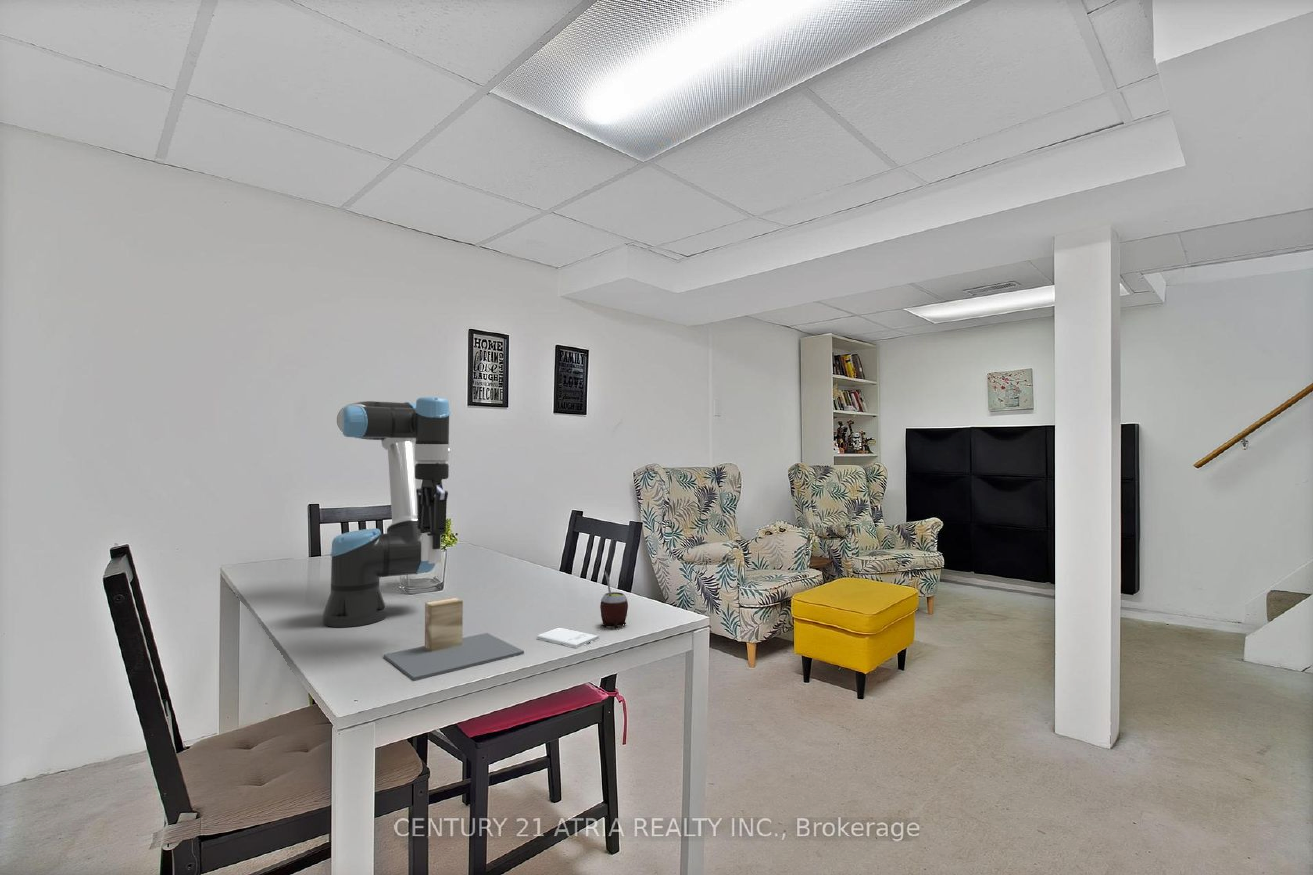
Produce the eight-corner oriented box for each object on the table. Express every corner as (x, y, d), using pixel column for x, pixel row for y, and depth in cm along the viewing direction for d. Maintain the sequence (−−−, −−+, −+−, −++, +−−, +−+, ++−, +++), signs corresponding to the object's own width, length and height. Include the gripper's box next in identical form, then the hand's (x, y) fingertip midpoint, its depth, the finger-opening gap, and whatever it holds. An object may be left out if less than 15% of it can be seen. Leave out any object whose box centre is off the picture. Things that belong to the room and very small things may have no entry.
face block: (424, 647, 136) (425, 602, 137) (454, 640, 141) (455, 597, 141) (431, 651, 133) (432, 605, 134) (462, 644, 138) (462, 600, 138)
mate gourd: (623, 620, 160) (623, 563, 161) (632, 629, 153) (632, 569, 153) (595, 623, 158) (596, 565, 158) (603, 631, 151) (603, 571, 151)
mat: (383, 657, 131) (383, 654, 131) (486, 635, 147) (487, 632, 147) (414, 680, 118) (414, 677, 118) (524, 653, 134) (524, 650, 134)
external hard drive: (560, 633, 151) (599, 641, 145) (536, 642, 144) (576, 651, 138) (560, 626, 151) (599, 634, 145) (536, 635, 145) (576, 643, 138)
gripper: (462, 463, 140) (461, 564, 140) (433, 462, 153) (432, 555, 152) (429, 463, 135) (428, 568, 135) (403, 462, 148) (402, 558, 147)
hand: (430, 561), depth 144 cm, fingers open, 4 cm apart
